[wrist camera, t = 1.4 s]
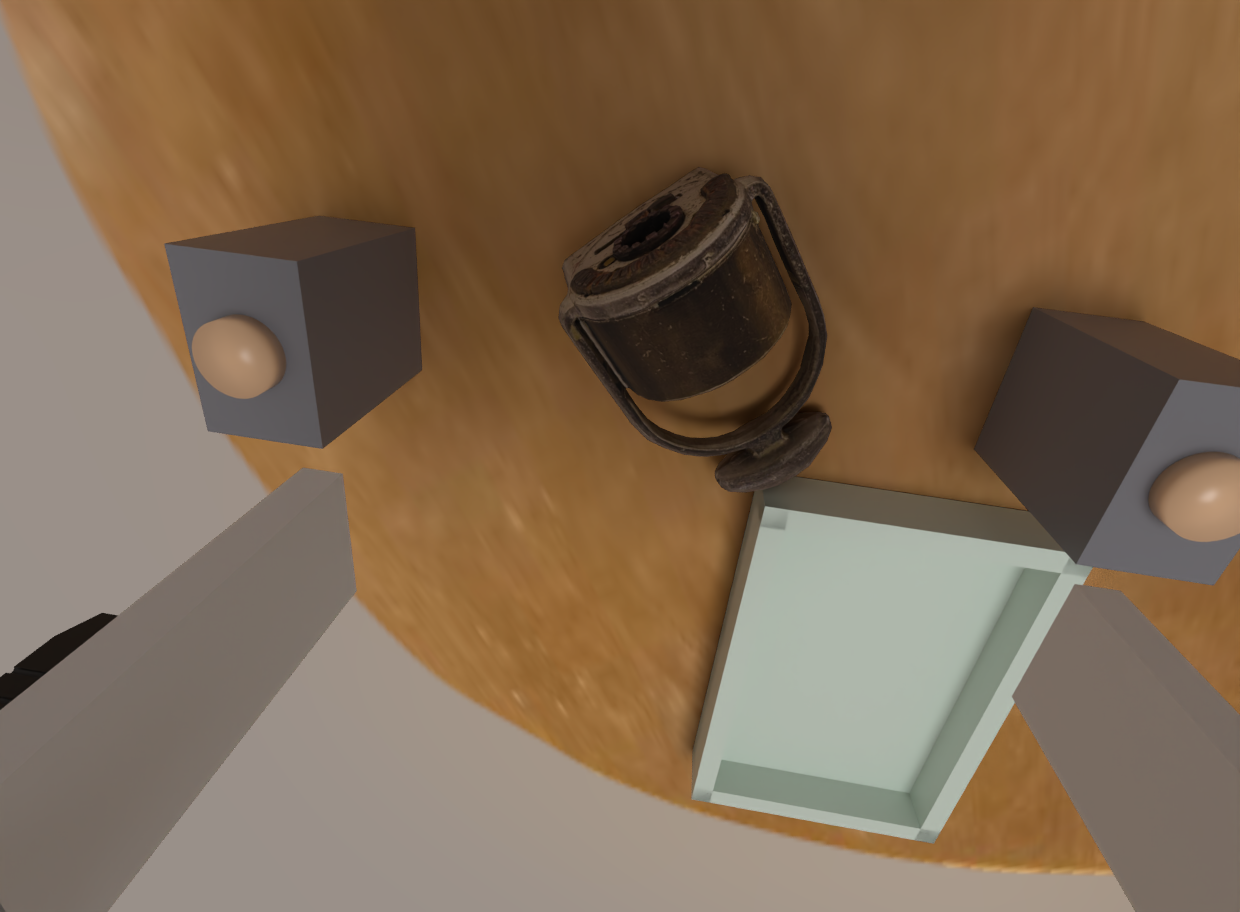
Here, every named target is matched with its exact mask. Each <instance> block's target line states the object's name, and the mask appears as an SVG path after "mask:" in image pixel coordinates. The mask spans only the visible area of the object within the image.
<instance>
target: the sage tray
mask: <svg viewBox="0 0 1240 912" xmlns="http://www.w3.org/2000/svg"><path fill="white" fill-rule="evenodd" d="M1092 568H1093V567H1091V566H1084V565H1078V564H1075V562H1074V561H1073V560H1072V559H1071V558H1070V557H1069V556H1068V555H1067V553H1066V552H1065V551H1064V550H1063V549H1062V548H1061V547H1060V546H1059V544H1058V543H1057V542H1056V541H1055V540H1054V539H1053V538H1052V537H1051V535H1050V534H1049V533H1048V532H1047V531H1046V530H1045V529H1044V528H1043V526H1042V525H1041V524H1040V523H1039V522H1038V521H1037V520H1036V518H1035V517H1034V516H1033V515H1032V514H1031V513H1030V512H1029V511H1023V510H1016V509H1009V508H1003V507H996V506H989V505H982V504H976V503H969V502H962V501H955V500H949V499H942V498H935V497H929V496H922V495H915V494H908V493H902V492H895V491H888V490H882V489H875V488H868V487H861V486H855V485H848V484H841V483H835V482H828V481H821V480H814V479H808V478H801V477H793V478H791V479H789V480H787V481H786V482H784V483H782V484H780V485H778V486H775V487H771V488H768V489H764V490H757V491H754V496H753V500H752V504H751V508H750V512H749V516H748V521H747V525H746V529H745V533H744V537H743V542H742V546H741V550H740V554H739V558H738V563H737V567H736V571H735V575H734V579H733V584H732V588H731V592H730V596H729V600H728V604H727V609H726V613H725V617H724V621H723V625H722V630H721V634H720V638H719V642H718V646H717V651H716V655H715V659H714V663H713V667H712V671H711V676H710V680H709V684H708V688H707V692H706V697H705V701H704V705H703V709H702V713H701V718H700V722H699V726H698V730H697V734H696V738H695V743H694V747H693V751H692V799H694V800H699V801H705V802H710V803H716V804H721V805H727V806H732V807H737V808H743V809H748V810H754V811H759V812H765V813H770V814H776V815H781V816H786V817H792V818H797V819H803V820H808V821H814V822H819V823H825V824H830V825H835V826H841V827H846V828H852V829H857V830H863V831H868V832H874V833H879V834H885V835H890V836H895V837H901V838H906V839H912V840H917V841H923V842H928V843H934V842H935V840H936V838H937V837H938V835H939V833H940V831H941V830H942V828H943V826H944V825H945V823H946V821H947V819H948V818H949V816H950V814H951V812H952V811H953V809H954V807H955V805H956V804H957V802H958V800H959V799H960V797H961V795H962V793H963V792H964V790H965V788H966V786H967V785H968V783H969V781H970V779H971V778H972V776H973V774H974V772H975V771H976V769H977V767H978V766H979V764H980V762H981V760H982V759H983V757H984V755H985V753H986V752H987V750H988V748H989V746H990V745H991V743H992V741H993V740H994V738H995V736H996V734H997V733H998V731H999V729H1000V727H1001V726H1002V724H1003V722H1004V720H1005V719H1006V717H1007V715H1008V713H1009V712H1010V710H1011V708H1012V707H1013V705H1014V703H1015V701H1014V700H1013V698H1012V695H1013V693H1014V692H1015V690H1016V688H1017V686H1018V684H1019V683H1020V681H1021V679H1022V677H1023V675H1024V674H1025V672H1026V670H1027V668H1028V667H1029V665H1030V663H1031V661H1032V659H1033V658H1034V656H1035V654H1036V652H1037V650H1038V649H1039V647H1040V645H1041V643H1042V642H1043V640H1044V638H1045V636H1046V634H1047V633H1048V631H1049V629H1050V627H1051V625H1052V624H1053V622H1054V620H1055V618H1056V617H1057V615H1058V613H1059V611H1060V609H1061V608H1062V606H1063V604H1064V602H1065V600H1066V599H1067V597H1068V595H1069V593H1070V592H1071V590H1072V588H1073V586H1074V584H1078V585H1083V583H1084V582H1085V580H1086V578H1087V576H1088V575H1089V573H1090V571H1091V569H1092Z"/></svg>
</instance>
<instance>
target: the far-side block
mask: <svg viewBox="0 0 1240 912" xmlns="http://www.w3.org/2000/svg"><path fill="white" fill-rule="evenodd" d="M165 249H166V253H167V257H168V262H169V266H170V270H171V274H172V279H173V283H174V287H175V292H176V296H177V300H178V305H179V309H180V313H181V318H182V322H183V326H184V330H185V335H186V339H187V343H188V348H189V352H190V356H191V361H192V365H193V369H194V374H195V378H196V382H197V386H198V391H199V395H200V399H201V404H202V408H203V412H204V417H205V421H206V425H207V429H208V431H211V432H217V433H223V434H230V435H236V436H243V437H249V438H256V439H262V440H269V441H276V442H282V443H289V444H295V445H302V446H308V447H315V448H321V449H323V448H324V447H325V446H327V445H328V444H329V443H331V442H332V441H333V440H334V439H336V438H337V437H338V436H339V435H341V434H342V433H343V432H344V431H346V430H347V429H348V428H349V427H351V426H352V425H353V424H355V423H356V422H357V421H358V420H360V419H361V418H362V417H363V416H365V415H366V414H367V413H368V412H370V411H371V410H372V409H373V408H375V407H376V406H377V405H379V404H380V403H381V402H382V401H384V400H385V399H386V398H387V397H389V396H390V395H391V394H392V393H394V392H395V391H396V390H397V389H399V388H400V387H401V386H403V385H404V384H405V383H406V382H408V381H409V380H410V379H411V378H413V377H414V376H415V375H416V374H418V373H419V372H420V371H421V370H422V358H421V337H420V317H419V297H418V277H417V257H416V236H415V228H412V227H404V226H396V225H388V224H380V223H373V222H365V221H357V220H349V219H341V218H334V217H326V216H315V217H309V218H304V219H298V220H293V221H287V222H282V223H276V224H270V225H265V226H259V227H254V228H248V229H243V230H237V231H232V232H226V233H221V234H215V235H210V236H204V237H198V238H193V239H187V240H182V241H176V242H171V243H165Z"/></svg>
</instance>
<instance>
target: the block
mask: <svg viewBox="0 0 1240 912" xmlns="http://www.w3.org/2000/svg"><path fill="white" fill-rule="evenodd" d="M974 450H975V451H976V452H977V453H978V454H979V455H980V457H981V458H982V459H983V460H984V461H985V462H986V463H987V464H988V466H989V467H990V468H991V469H992V470H993V471H994V472H995V473H996V475H997V476H998V477H999V478H1000V479H1001V480H1002V481H1003V482H1004V484H1005V485H1006V486H1007V487H1008V488H1009V489H1010V490H1011V491H1012V493H1013V494H1014V495H1015V496H1016V497H1017V498H1018V499H1019V500H1020V502H1021V503H1022V504H1023V505H1024V506H1025V507H1026V508H1027V509H1028V511H1029V512H1030V513H1031V514H1032V515H1033V516H1034V517H1035V518H1036V520H1037V521H1038V522H1039V523H1040V524H1041V525H1042V526H1043V528H1044V529H1045V530H1046V531H1047V532H1048V533H1049V534H1050V535H1051V537H1052V538H1053V539H1054V540H1055V541H1056V542H1057V543H1058V544H1059V546H1060V547H1061V548H1062V549H1063V550H1064V551H1065V552H1066V553H1067V555H1068V556H1069V557H1070V558H1071V559H1072V560H1073V561H1074V562H1075V564H1078V565H1084V566H1091V567H1097V568H1104V569H1110V570H1117V571H1123V572H1130V573H1136V574H1143V575H1149V576H1156V577H1162V578H1169V579H1175V580H1182V581H1189V582H1195V583H1202V584H1208V585H1214V584H1215V583H1216V581H1217V580H1218V578H1219V577H1220V576H1221V574H1222V573H1223V571H1224V570H1225V568H1226V567H1227V566H1228V564H1229V563H1230V561H1231V560H1232V559H1233V557H1234V556H1235V554H1236V553H1237V551H1238V550H1239V549H1240V360H1239V359H1236V358H1234V357H1231V356H1229V355H1226V354H1224V353H1221V352H1219V351H1216V350H1214V349H1211V348H1209V347H1206V346H1204V345H1201V344H1199V343H1196V342H1194V341H1191V340H1189V339H1186V338H1184V337H1181V336H1179V335H1176V334H1174V333H1171V332H1169V331H1166V330H1164V329H1161V328H1159V327H1156V326H1154V325H1151V324H1149V323H1146V322H1143V321H1135V320H1127V319H1120V318H1112V317H1104V316H1096V315H1088V314H1081V313H1073V312H1065V311H1057V310H1050V309H1042V308H1034V307H1033V309H1032V311H1031V314H1030V316H1029V318H1028V321H1027V323H1026V326H1025V328H1024V330H1023V333H1022V335H1021V338H1020V340H1019V342H1018V345H1017V347H1016V350H1015V352H1014V354H1013V357H1012V359H1011V361H1010V364H1009V366H1008V369H1007V371H1006V373H1005V376H1004V378H1003V381H1002V383H1001V385H1000V388H999V390H998V393H997V395H996V397H995V400H994V402H993V405H992V407H991V409H990V412H989V414H988V417H987V419H986V421H985V424H984V426H983V429H982V431H981V433H980V436H979V438H978V441H977V443H976V445H975V448H974Z"/></svg>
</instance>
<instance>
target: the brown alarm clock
mask: <svg viewBox="0 0 1240 912" xmlns="http://www.w3.org/2000/svg"><path fill="white" fill-rule="evenodd" d="M754 198H755V200H756V202H757V204H758V206H759V208H760V210H761V212H762V214H763V216H764V217H765V220H766V222H767V225H768V227H769V230H770V232H771V235H772V238H773V240H774V242H775V245H776V247H777V249H778V252H779V254H780V257H781V259H782V261H783V263H784V266H785V268H786V270H787V272H788V275H789V277H790V279H791V281H792V283H793V285H794V287H795V289H796V292H797V294H798V296H799V298H800V300H801V302H802V304H803V306H804V309H805V312H806V316H807V320H808V323H809V336H808V340H807V343H806V347H805V351H804V355H803V359H802V363H801V367H800V369H799V371H798V373H797V375H796V377H795V379H794V381H793V383H792V384H791V386H790V387H789V388H788V390H787V391H786V393H785V394H784V396H783V397H782V398H781V400H780V401H779V402H778V403H777V404H776V405H774V406H773V407H772V408H771V409H770V410H769V411H768V412H767V413H765V414H763V415H761V416H759V417H757V418H755V419H754V420H752V421H750V422H748V423H746V424H745V425H743V426H741V427H740V428H738V429H737V430H735V431H733V432H730V433H727V434H724V435H721V436H718V437H709V438H689V437H685V436H681V435H677V434H674V433H672V432H669V431H667V430H665V429H662V428H660V427H658V426H657V425H656V424H654V423H653V422H651V421H650V420H648V419H647V418H646V416H645V415H644V414H643V413H642V411H641V410H640V409H639V408H638V406H637V405H636V404H635V403H634V401H633V400H632V398H631V396H630V395H629V393H628V392H627V390H626V388H630V389H632V390H633V391H634V392H635V393H636V394H637V395H639V396H642V397H644V398H646V399H648V400H655V401H662V402H664V401H675V400H683V399H686V398H689V397H693V396H696V395H699V394H703V393H706V392H709V391H712V390H714V389H716V388H719V387H721V386H723V385H724V384H726V383H728V382H730V381H732V380H734V379H735V378H737V377H738V376H739V375H741V374H742V373H744V372H745V371H747V370H748V369H749V368H751V367H752V366H753V365H755V364H756V363H757V362H758V361H760V360H761V359H762V358H764V357H765V356H766V354H767V353H768V352H769V351H770V350H771V348H772V347H773V346H774V345H775V344H776V342H777V341H778V340H779V339H780V338H781V336H782V334H783V332H784V331H785V329H786V327H787V325H788V321H789V318H790V313H791V305H792V303H791V300H790V297H789V295H788V292H787V289H786V287H785V284H784V282H783V280H782V278H781V275H780V273H779V271H778V269H777V266H776V264H775V262H774V260H773V257H772V255H771V253H770V251H769V248H768V246H767V244H766V242H765V239H764V237H763V235H762V233H761V230H760V228H759V226H758V224H757V223H758V222H759V220H760V217H759V215H758V212H755V211H753V206H752V202H751V201H752V200H753V199H754ZM562 269H563V272H564V276H565V280H566V283H567V286H568V294H567V296H566V297H565V299H564V300H563V302H562V303H561V305H560V310H559V320H560V323H561V325H562V327H563V329H564V330H565V332H566V333H567V335H568V336H569V337H570V339H571V340H572V342H573V343H574V345H575V346H576V347H577V349H578V350H579V352H580V353H581V354H582V356H583V357H584V359H585V360H586V361H587V363H588V364H589V366H590V367H591V368H592V370H593V371H594V373H595V374H596V375H597V377H598V378H599V380H600V381H601V382H602V384H603V385H604V387H605V388H606V389H607V391H608V392H609V393H610V395H611V396H612V398H613V399H614V400H615V402H616V403H617V404H618V406H619V407H620V409H621V410H622V411H623V413H624V414H625V416H626V417H627V418H628V420H629V421H630V423H631V424H632V425H633V426H634V427H635V428H636V429H637V430H638V431H639V432H640V433H641V434H642V435H643V436H644V437H645V438H646V439H647V440H649V441H651V442H653V443H655V444H657V445H659V446H662V447H664V448H666V449H669V450H672V451H675V452H678V453H681V454H684V455H692V456H706V457H708V456H716V455H724V454H727V455H726V456H725V457H724V459H723V460H722V461H721V462H720V463H719V465H718V466H717V468H716V470H715V478H716V480H717V482H718V483H719V484H720V486H721V487H722V488H724V489H725V490H727V491H729V492H751V491H757V490H764V489H768V488H771V487H775V486H778V485H780V484H782V483H784V482H786V481H787V480H789V479H791V478H793V477H795V476H796V475H797V474H799V473H800V472H801V471H803V470H804V469H805V468H807V467H808V466H809V465H810V464H811V463H812V461H813V460H814V459H815V457H816V456H817V454H818V453H819V451H820V450H821V449H822V447H823V446H824V444H825V443H826V442H827V440H828V437H829V434H830V431H831V428H832V426H831V422H830V419H829V416H828V415H827V414H826V413H822V412H805V413H799V414H796V413H797V412H798V411H799V410H800V408H801V407H802V406H803V405H804V403H805V402H806V401H807V400H808V398H809V397H810V394H811V392H812V390H813V388H814V385H815V383H816V381H817V379H818V376H819V374H820V371H821V368H822V365H823V360H824V354H825V347H826V341H827V331H826V324H825V318H824V314H823V311H822V308H821V305H820V301H819V298H818V296H817V294H816V291H815V289H814V286H813V284H812V282H811V279H810V277H809V275H808V272H807V270H806V268H805V265H804V263H803V260H802V258H801V256H800V253H799V251H798V248H797V246H796V244H795V241H794V239H793V237H792V234H791V232H790V230H789V227H788V225H787V223H786V221H785V218H784V216H783V214H782V212H781V209H780V207H779V205H778V203H777V200H776V198H775V196H774V194H773V191H772V190H771V188H770V186H769V185H768V184H767V183H766V182H765V181H764V180H763V179H762V178H761V177H757V176H751V175H749V176H744V177H739V178H736V179H734V180H733V179H731V178H730V175H728V174H727V173H726V174H721V175H717V174H715V173H713V172H711V171H709V170H708V169H705V168H700V167H698V168H697V169H695V170H693V171H691V172H690V173H688V174H687V175H686V176H684V177H683V178H681V179H680V180H678V181H677V182H675V183H674V184H672V185H671V186H670V187H668V188H667V189H665V190H664V191H662V192H660V193H659V194H657V195H656V196H654V197H653V198H651V199H649V200H648V201H646V202H645V203H643V204H642V205H640V206H639V207H637V208H636V209H635V210H633V211H632V212H630V213H629V214H627V215H626V216H625V217H623V218H622V219H620V220H619V221H618V222H616V223H615V224H613V225H612V226H611V227H609V228H608V229H607V230H605V231H604V232H602V233H601V234H600V235H598V236H597V237H596V238H594V239H593V240H591V241H590V242H589V243H587V244H586V245H585V246H583V247H582V248H580V249H579V250H578V251H576V252H575V253H573V254H572V255H571V256H569V257H568V258H567V259H565V261H564V264H563V267H562ZM577 317H578V318H577ZM795 414H796V415H795Z"/></svg>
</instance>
